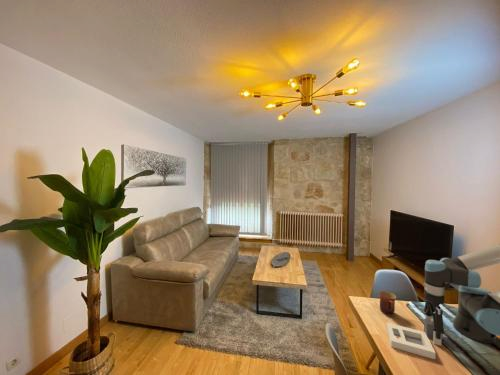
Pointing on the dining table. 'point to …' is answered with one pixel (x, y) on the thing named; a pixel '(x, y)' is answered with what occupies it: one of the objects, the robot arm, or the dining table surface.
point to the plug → (430, 328)
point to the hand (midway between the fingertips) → (432, 336)
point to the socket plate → (410, 340)
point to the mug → (387, 302)
